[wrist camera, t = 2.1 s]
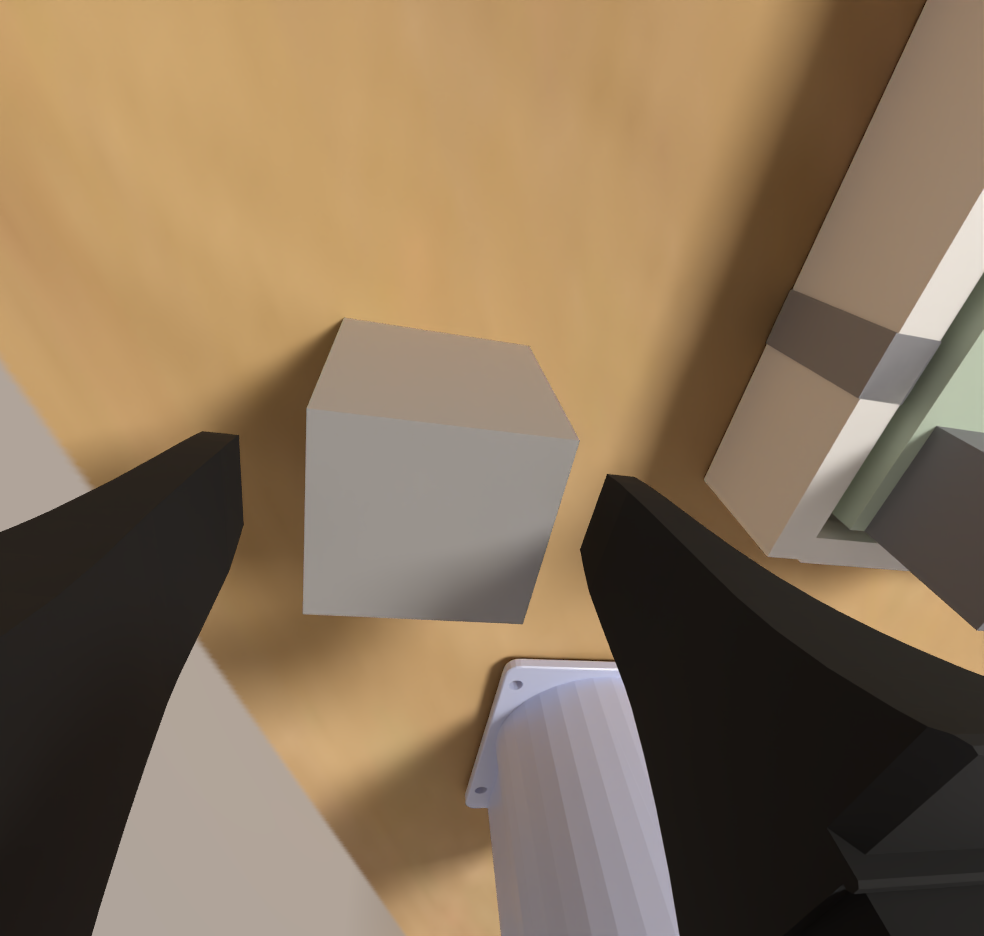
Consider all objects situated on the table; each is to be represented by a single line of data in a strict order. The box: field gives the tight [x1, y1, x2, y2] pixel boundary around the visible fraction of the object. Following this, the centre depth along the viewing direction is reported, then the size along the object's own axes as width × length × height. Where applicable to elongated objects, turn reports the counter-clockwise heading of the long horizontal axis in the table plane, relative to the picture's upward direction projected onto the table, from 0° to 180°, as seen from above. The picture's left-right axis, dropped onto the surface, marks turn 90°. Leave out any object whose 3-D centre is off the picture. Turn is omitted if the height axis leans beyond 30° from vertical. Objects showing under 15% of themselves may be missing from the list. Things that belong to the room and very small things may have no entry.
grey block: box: [303, 318, 580, 624], centre depth 12 cm, size 4×4×5 cm
